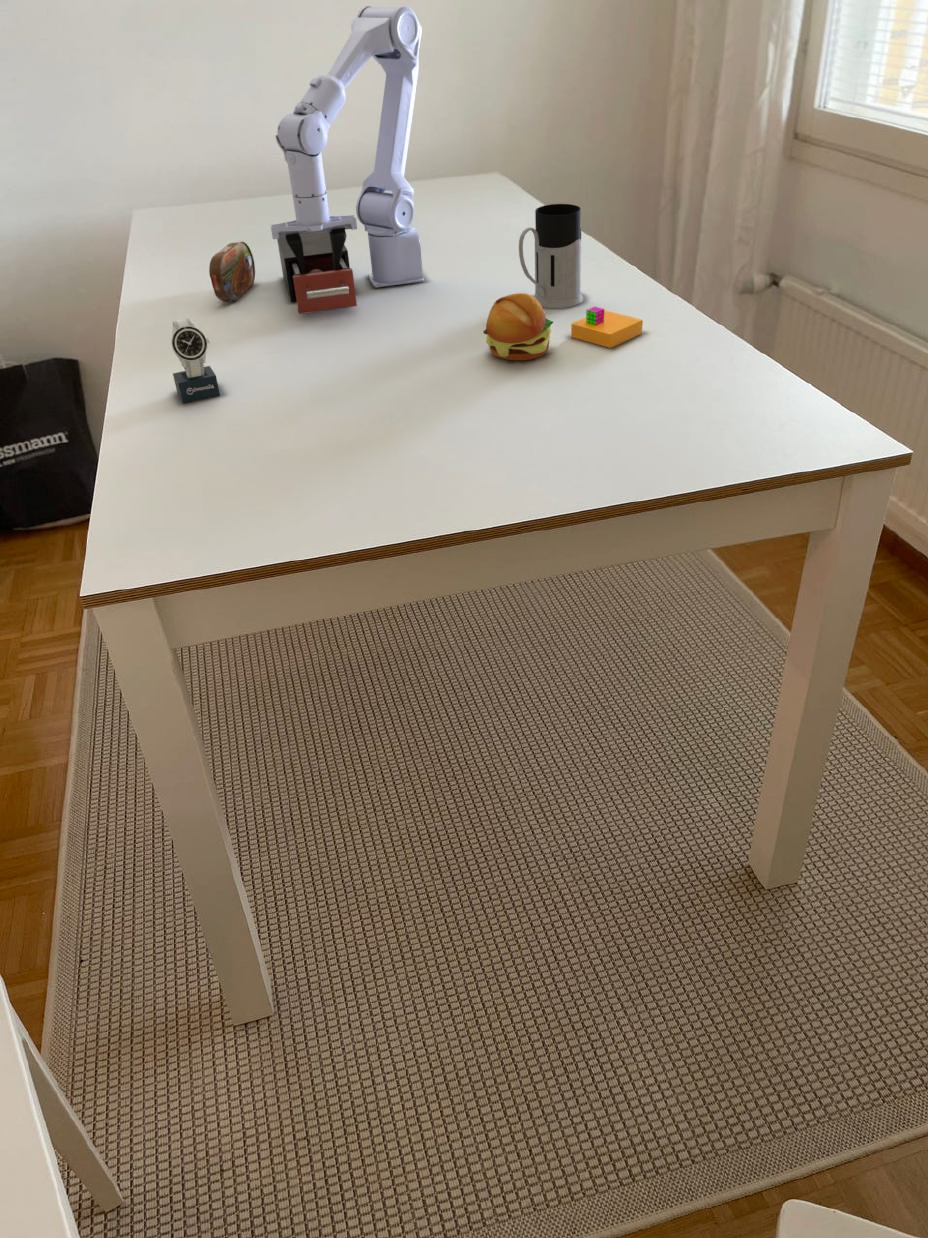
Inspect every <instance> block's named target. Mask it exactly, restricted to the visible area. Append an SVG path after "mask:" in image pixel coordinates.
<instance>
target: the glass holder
mask: <svg viewBox="0 0 928 1238" xmlns="http://www.w3.org/2000/svg"><path fill="white" fill-rule="evenodd" d="M581 211H582V210H581V207H580V206H578V205H576V204H570V203H552V204H546V205H541V206H539V207H537V208H535V210H534V212H535V213H534V216H535V218H534V219H535V220H534V221H535V222H534V223H535V224H534V225H535V228H534V227H526V228H525V229H524V230H523V231H522V232H521V233H520V236H519V240H518V257H519V262H520V265H521V268H522V271H523V273H524V276H526V278H527V279H528V280H529V281H530V282H531V283H533V284H534V288H535V289H534V290H535V292H534V296H533V297H534V298H536V299H537V300H538V302H539V303H540V304H541V306H542V308H545V309H567V308H572V307H575V306H578V305H580V304H581V303H583V301H584V296H583V295H582V289H581V288H582V228H581V220H582V219H581V216H582V215H581V213H582V212H581ZM530 231H531V232H532V233H533V237H534V278H533V277H532V275H531V274H530V273H529V270H528V268H527V266H526V263H525V258H524V239H525V236H526V235H527V234H528V233H529V232H530Z"/></svg>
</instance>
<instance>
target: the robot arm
mask: <svg viewBox="0 0 928 1238" xmlns="http://www.w3.org/2000/svg"><path fill="white" fill-rule="evenodd" d="M350 26H351V33H350V34H349V36H348V38H347V40H346V42H345V43H344V45H343V47H342V49H341V50H340V52H339V54H338V56H337V58H336V59H335V61H334V63H333V65H332V66H331V68H330V70H329V71H328V72H327V75H326V74H325V75H324V74H323V75H318V76H317V77H313V78H312V79H311V80H310V82H309V88H308V89H307V91H306V92H305V94H304V95H303V97H302V98H301V100H300V101H299V102H298V103H296V105H295V106H294V110H293V112H292V113H288V114H285V115H284V116H283V117H282V119H281V120H280V122H279V123H278V126H277V134H275V140H276V143H277V145H278V147H279V149H280V150H282V153H283V156H284V161H285V162H286V163H287V168H288V174H289V182H290V187H291V194H292V201H293V209H294V214H295V220H290V221H286V222H285V221H284V222H280V223H275V224H270V231H271V237H272V239H273V240H277V239H279V238H280V237H285V238H286V240H287V243H288V245H289V246H290V248H291V250H292V251H293V253H294V255H295V257H296V258H297V260H298V263H299V265H300V267H301V270H302V274H307V270H306V265H305V261H304V253H303V245H302V241H301V237H300V235H305V234H313V233H321V232H329V234H330V240H331V247H332V254H333V268H334V270H339V268H340V259H341V254H342V250H343V246H344V245H345V243H346V240H347V231H346V230H351V231H354V230H358V221H359V222H360V223H361V225H363V226H364V231H365V232H366V233H367V238H368V249H369V258H370V266H371V272H370V273H367V276H368V278H369V280H370V282H371V284H372V286H373V288H383V287H391V286H399V285H406V284H415V283H421V282H424V281H425V278H424V270H423V257H422V245H421V241H420V240H421V239H420V238H421V237H420V234H419V231H418V229H417V228H416V227H411V226H412V224H413V222H414V218H415V205H414V194H415V190H414V188H413V186H411V184H410V183H409V182H408V181H407V179H406V177H405V172H406V166H407V165H406V164H407V158H408V152H409V151H408V150H409V143H410V137H411V136H410V135H411V129H412V123H413V122H412V121H413V115H414V108H415V100H416V94H417V93H416V92H417V85H418V78H419V71H420V62H419V60H420V59H419V54H420V46H421V40H422V32H423V28H422V26H421V23H420V21H419V18H418V17H417V14H416V13H415V12H414V10H413V9H412V8H411V7H409V6H406V5H401V6H378V7H377V6H371V5H366V6H364V7H362V8H361V9H360V10H359V11H358V13H357V15H356V16H355V18H354V19H353V20H352V21H351V25H350ZM371 57H372V58H373V59H374V60H375V61H376V62H377V63H378V64H379V65H380V66H381V68H382V69H383V71H384V73H385V82H384V89H383V90H384V91H383V97H382V104H381V112H380V121H379V128H378V137H377V143H376V151H375V152H376V153H375V160H374V168H373V171H372V172H371V173H370V174H369V175H368V176H367V177H366V178H365V179H364V180H363V181H362V187H361V191H360V194H359V196H358V197H357V200H356V205H355V212H356V215H355V214H351V215H350V214H349V215H330V209H329V202H328V201H329V199H328V193H327V185H326V179H325V177H326V176H325V171H324V162H323V155H322V154H323V153H322V151H323V150H325V149H326V146H327V143H328V133H329V131H330V127H331V125H332V123H333V122H334V120H335V119H336V117H337V116H338V114H339V112H340V111H341V110H342V108H343V107H344V105H345V104H346V101H347V96H346V95H347V94H346V89H347V88H348V87H349V86H350V85H351V83H352V81H354V79H355V78H356V76H357V75H358V74H359V73H360V71H361V70H362V69H363V67H364V66H365V65H366V64H367V62H368V61H369V60H370V59H371ZM386 191H388V192H386ZM389 191H390V192H391V193H390V192H389ZM357 219H358V221H357ZM410 227H411V228H410Z"/></svg>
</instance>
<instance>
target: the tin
mask: <svg viewBox="0 0 928 1238" xmlns="http://www.w3.org/2000/svg"><path fill="white" fill-rule="evenodd" d="M255 265H256V264H255V259H254V256H253V253H252V250H251V247H249V245H248V243H247V242H245V241H239V242H238V241H237V242H230V243H228V244H227V245H226V246H224V247H223V248H222V249H220V250H219V251H218V252H216V253H215V254H214V255H213V256H212V257H211V259H210V262H209V268H208V274H209V278H210V281H211V285H212V289H213V292H214V295H215V296H216V298H217V299H219V300H220V301H223V302H229V301H233V302H234V301H235V302H236V301H238V300H239V299H240V298H241V297H242V296H243V295H244V294H245V293H246V292H248V291H249V290H250V289H251V288H252V287H253V285H254V283H255V280H256V278H255V277H256V266H255Z"/></svg>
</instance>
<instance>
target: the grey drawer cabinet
mask: <svg viewBox="0 0 928 1238" xmlns="http://www.w3.org/2000/svg"><path fill="white" fill-rule="evenodd" d="M300 237H301V241H302V245H303V253H304V260H307V259H315V258H323V257H331V256H333V254H332V247H331V240H330V234H329V232H321V233H313V234H305V235H300ZM276 241H277V247H278V253H279V259H280V266H281V272H282V278H283V281H284V284H285V288H286V291H287V294H288V297H289V300H290V303H297V300H296V294H295V289H294V284H293V278H292V271H291V265H290V262H291V261H298V260H297V258H296V257H295V255H294V253H293V251H292V250H291V248H290V246H289V245H288V243H287V240H286V238H285V237H280V238H279V239H276ZM341 257H342V259H343V261H344V263H345V264H346V266H347V269H350V268H351V266H350V259H349V258H350V257H349V251H348V249H347V246H346V245H345V244H344V246H343V250H342V254H341Z"/></svg>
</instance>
